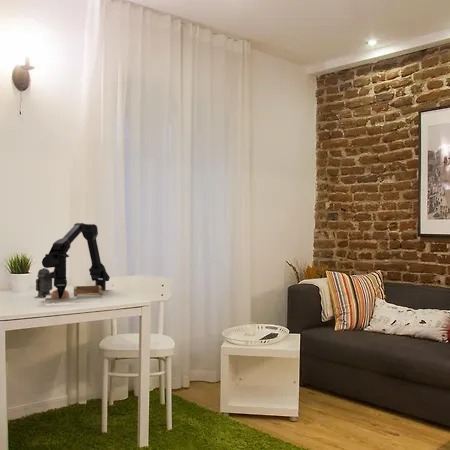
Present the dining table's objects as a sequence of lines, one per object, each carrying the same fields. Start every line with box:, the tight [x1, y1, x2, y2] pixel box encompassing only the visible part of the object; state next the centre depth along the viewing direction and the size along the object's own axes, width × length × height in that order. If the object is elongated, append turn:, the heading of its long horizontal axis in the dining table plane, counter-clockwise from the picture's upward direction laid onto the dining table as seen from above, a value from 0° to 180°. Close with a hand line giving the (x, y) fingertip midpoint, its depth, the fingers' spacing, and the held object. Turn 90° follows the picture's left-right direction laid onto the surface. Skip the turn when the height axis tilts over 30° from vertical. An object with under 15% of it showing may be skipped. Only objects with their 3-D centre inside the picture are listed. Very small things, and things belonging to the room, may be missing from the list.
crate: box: [73, 285, 103, 297], centre depth 280 cm, size 11×14×5 cm
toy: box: [35, 267, 53, 298], centre depth 280 cm, size 8×6×15 cm
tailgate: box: [75, 295, 102, 299], centre depth 270 cm, size 1×12×8 cm
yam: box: [50, 289, 70, 299], centre depth 268 cm, size 9×5×5 cm, turn 108°
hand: (60, 297), depth 268 cm, fingers open, 9 cm apart
